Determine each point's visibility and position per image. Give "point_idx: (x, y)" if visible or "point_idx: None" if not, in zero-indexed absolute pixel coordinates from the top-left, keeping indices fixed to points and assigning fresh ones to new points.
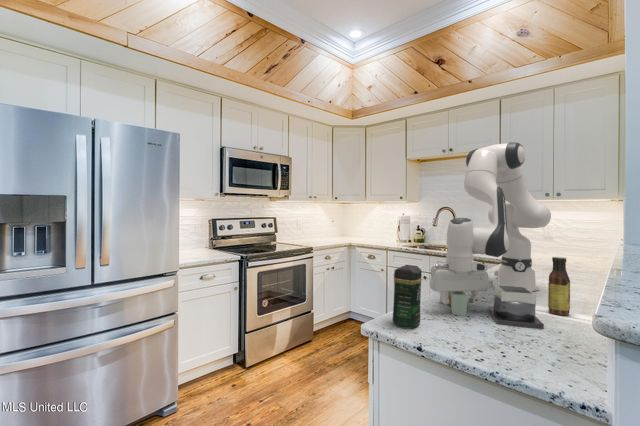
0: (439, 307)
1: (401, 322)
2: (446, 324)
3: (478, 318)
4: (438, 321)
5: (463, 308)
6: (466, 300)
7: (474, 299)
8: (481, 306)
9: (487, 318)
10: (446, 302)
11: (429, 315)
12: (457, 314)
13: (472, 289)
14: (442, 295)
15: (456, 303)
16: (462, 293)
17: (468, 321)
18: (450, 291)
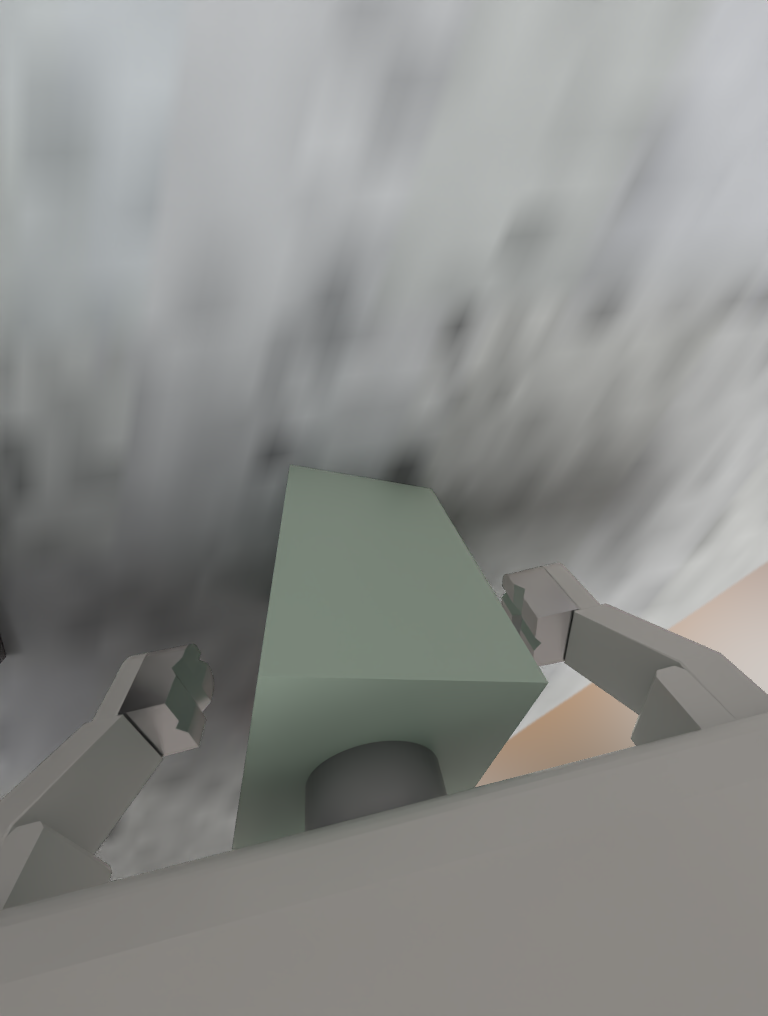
0: None
1: None
2: (709, 57)
3: (152, 386)
4: (723, 211)
5: (325, 510)
6: (276, 589)
7: (100, 706)
8: (71, 729)
9: (18, 400)
10: (549, 574)
11: (677, 425)
12: (382, 483)
13: (12, 967)
14: (680, 651)
15: (426, 561)
16: (314, 773)
17: (328, 236)
18: None
